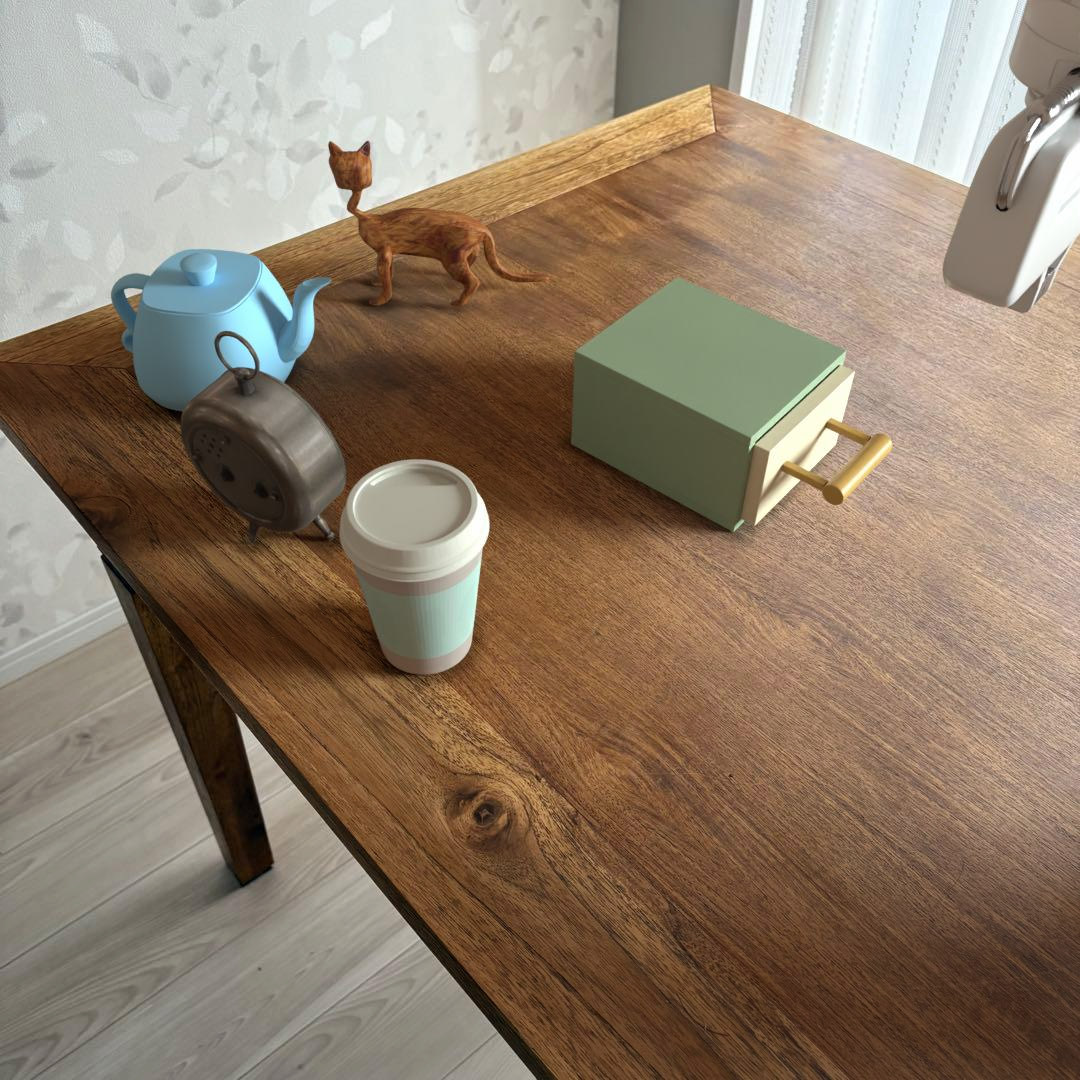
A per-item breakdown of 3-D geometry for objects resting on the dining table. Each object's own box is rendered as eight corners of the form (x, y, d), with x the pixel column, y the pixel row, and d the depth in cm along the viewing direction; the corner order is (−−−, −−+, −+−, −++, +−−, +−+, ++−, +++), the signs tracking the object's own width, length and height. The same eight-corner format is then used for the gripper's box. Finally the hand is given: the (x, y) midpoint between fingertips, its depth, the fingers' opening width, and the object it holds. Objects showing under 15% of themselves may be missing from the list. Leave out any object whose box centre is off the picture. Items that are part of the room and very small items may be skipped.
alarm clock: (360, 532, 77) (330, 339, 66) (309, 580, 74) (268, 386, 63) (243, 474, 81) (195, 283, 70) (189, 518, 78) (131, 325, 67)
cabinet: (823, 443, 84) (847, 350, 78) (733, 532, 78) (751, 438, 72) (667, 367, 91) (677, 276, 85) (570, 444, 84) (574, 350, 78)
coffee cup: (518, 621, 72) (517, 484, 63) (444, 714, 67) (432, 579, 58) (410, 571, 75) (394, 434, 66) (331, 657, 70) (303, 520, 61)
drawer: (894, 472, 81) (918, 398, 76) (815, 559, 75) (835, 484, 70) (687, 373, 89) (696, 300, 84) (600, 444, 83) (604, 370, 78)
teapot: (305, 321, 77) (58, 297, 78) (325, 439, 84) (99, 416, 86) (353, 228, 85) (130, 208, 87) (367, 343, 93) (162, 323, 95)
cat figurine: (547, 270, 101) (550, 124, 91) (551, 311, 96) (554, 163, 87) (349, 273, 100) (329, 127, 91) (343, 315, 96) (322, 166, 86)
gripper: (1104, 139, 44) (997, 413, 54) (1255, -5, 55) (1144, 244, 65) (955, 94, 47) (879, 362, 56) (1127, -35, 58) (1039, 209, 68)
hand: (1022, 298), depth 61 cm, fingers closed
